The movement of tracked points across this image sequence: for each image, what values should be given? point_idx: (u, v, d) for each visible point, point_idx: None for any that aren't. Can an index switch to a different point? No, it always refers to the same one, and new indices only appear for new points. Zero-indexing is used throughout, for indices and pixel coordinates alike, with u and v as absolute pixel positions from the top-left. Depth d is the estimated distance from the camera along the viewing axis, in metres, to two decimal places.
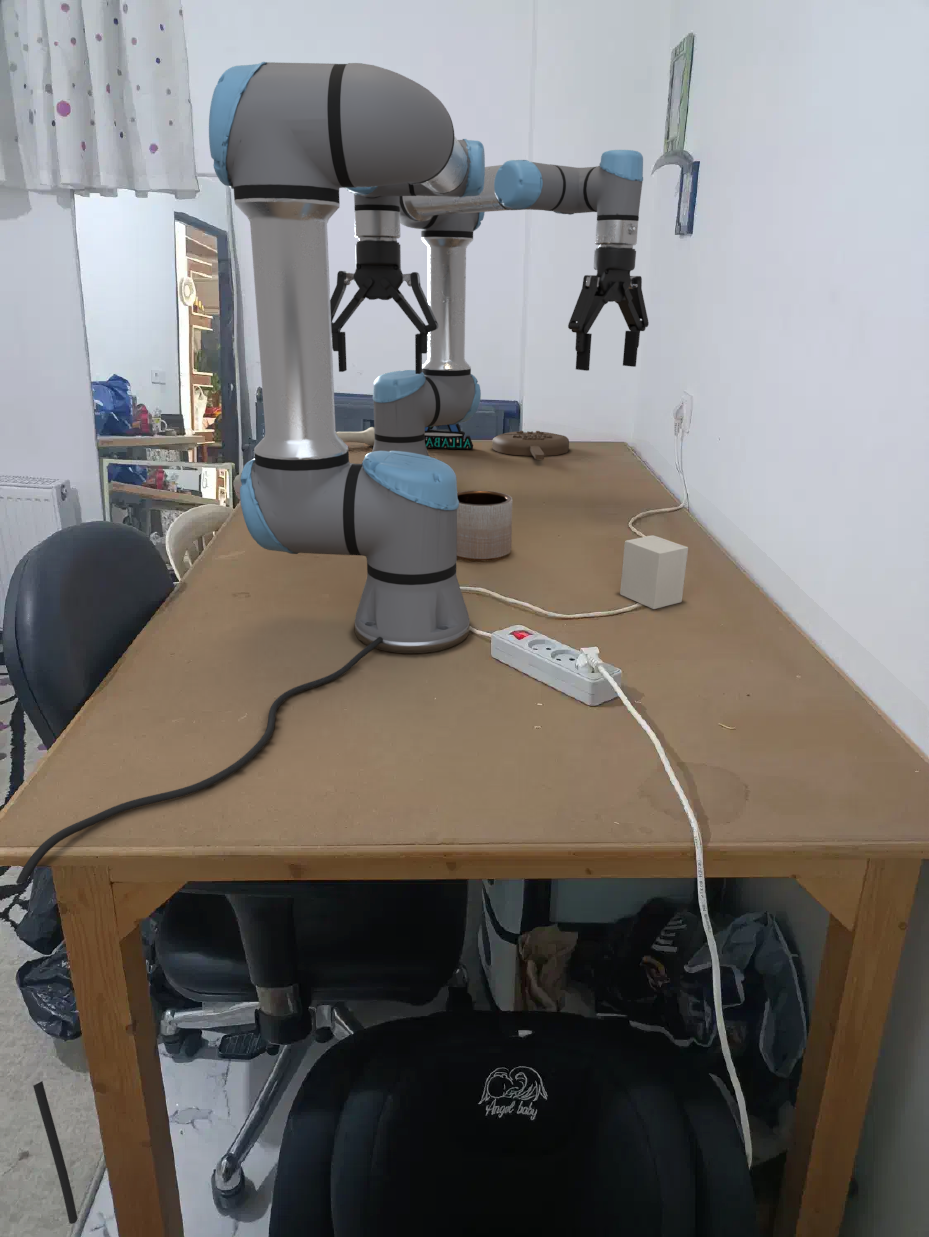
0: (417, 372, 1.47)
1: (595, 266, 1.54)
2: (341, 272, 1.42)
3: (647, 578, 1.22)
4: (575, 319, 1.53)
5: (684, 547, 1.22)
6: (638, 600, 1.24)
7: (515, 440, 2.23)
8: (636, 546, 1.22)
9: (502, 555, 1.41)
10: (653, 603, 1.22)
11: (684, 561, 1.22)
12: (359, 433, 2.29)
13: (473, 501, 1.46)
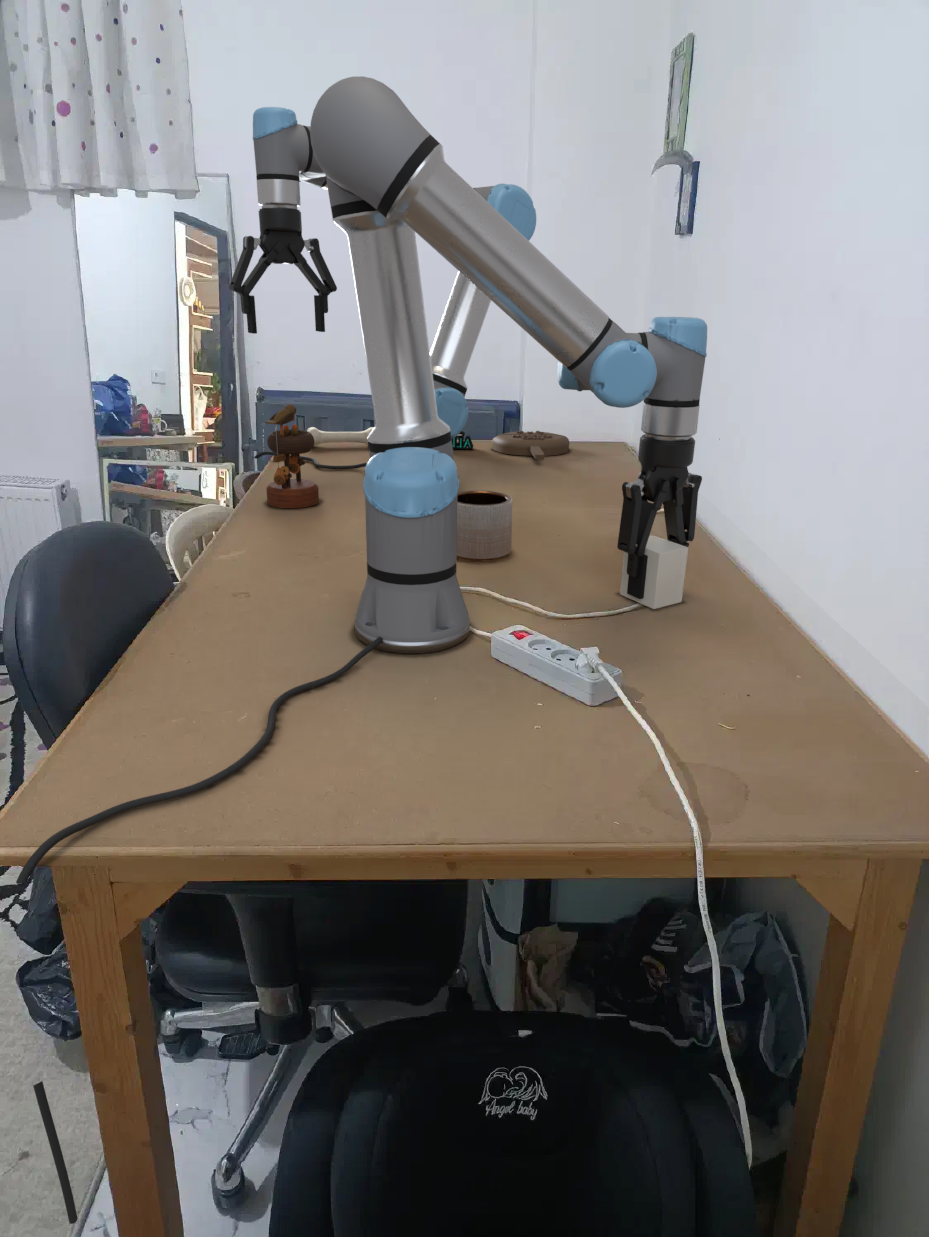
0: None
1: (301, 228, 1.54)
2: (637, 487, 1.15)
3: (647, 578, 1.22)
4: None
5: (684, 547, 1.22)
6: (638, 600, 1.24)
7: (515, 440, 2.23)
8: None
9: (502, 555, 1.41)
10: (653, 603, 1.22)
11: (684, 561, 1.22)
12: (359, 433, 2.29)
13: (473, 501, 1.46)
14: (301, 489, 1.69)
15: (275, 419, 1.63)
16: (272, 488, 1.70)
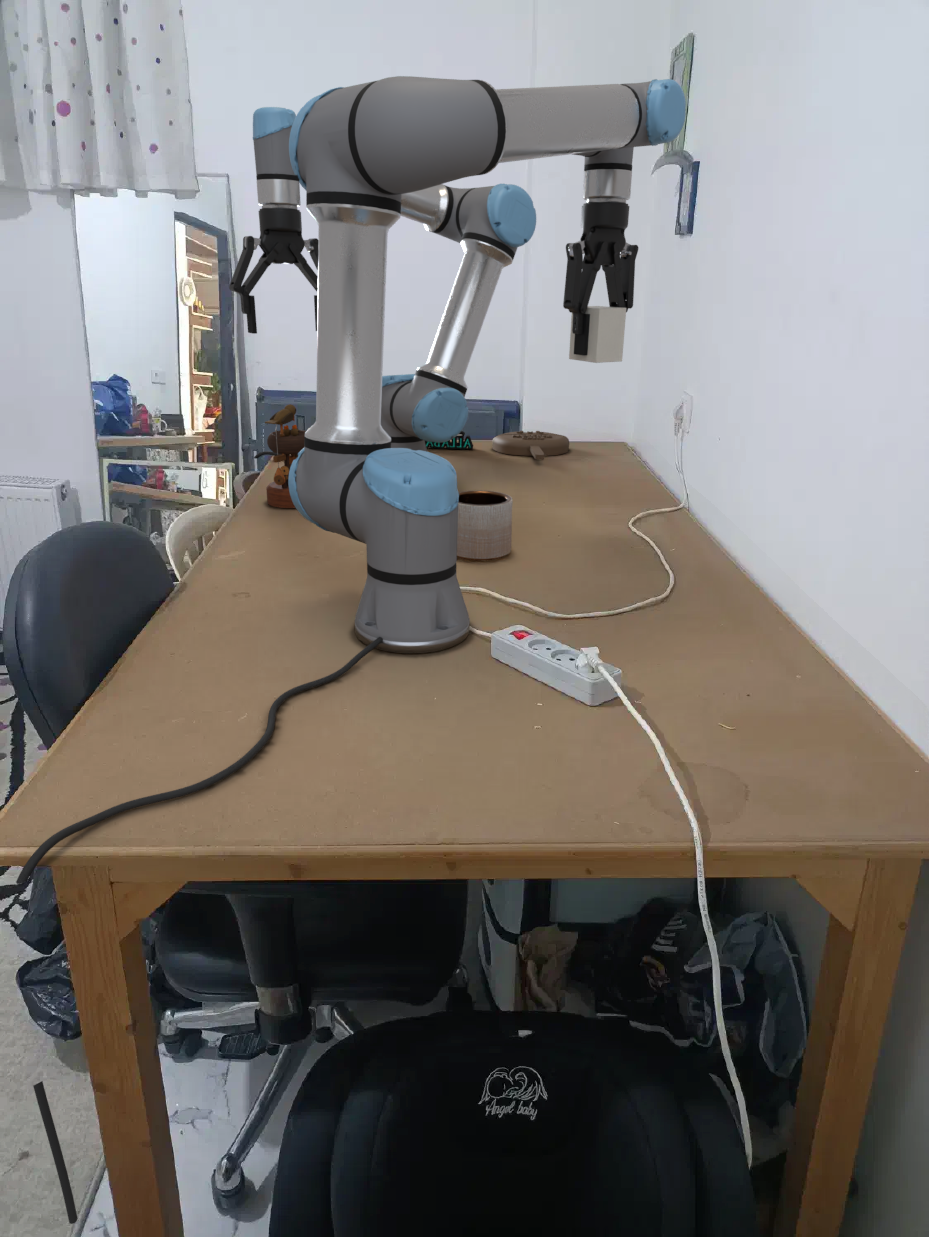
0: None
1: (301, 228, 1.54)
2: (578, 244, 1.33)
3: (590, 335, 1.39)
4: None
5: (622, 308, 1.39)
6: (583, 359, 1.42)
7: (515, 440, 2.23)
8: None
9: (502, 555, 1.41)
10: (595, 357, 1.39)
11: (623, 321, 1.39)
12: None
13: (473, 501, 1.46)
14: None
15: (275, 419, 1.63)
16: (272, 488, 1.70)
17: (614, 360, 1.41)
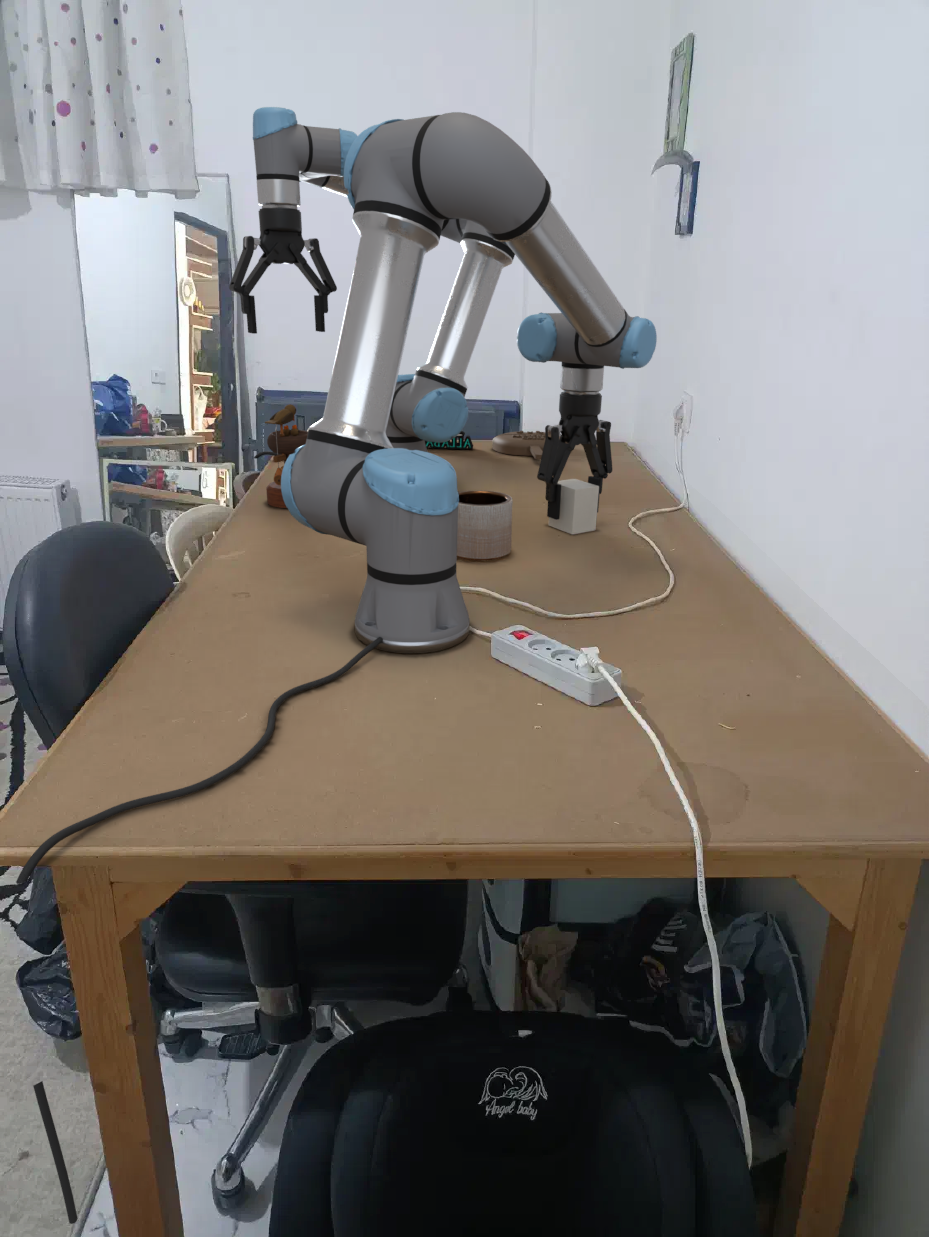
0: None
1: (301, 228, 1.54)
2: (556, 428, 1.49)
3: (567, 510, 1.56)
4: None
5: (596, 486, 1.56)
6: (561, 528, 1.58)
7: (515, 440, 2.23)
8: None
9: (502, 555, 1.41)
10: (571, 530, 1.56)
11: (596, 497, 1.56)
12: None
13: (473, 501, 1.46)
14: None
15: (275, 419, 1.63)
16: (272, 488, 1.70)
17: (588, 530, 1.58)
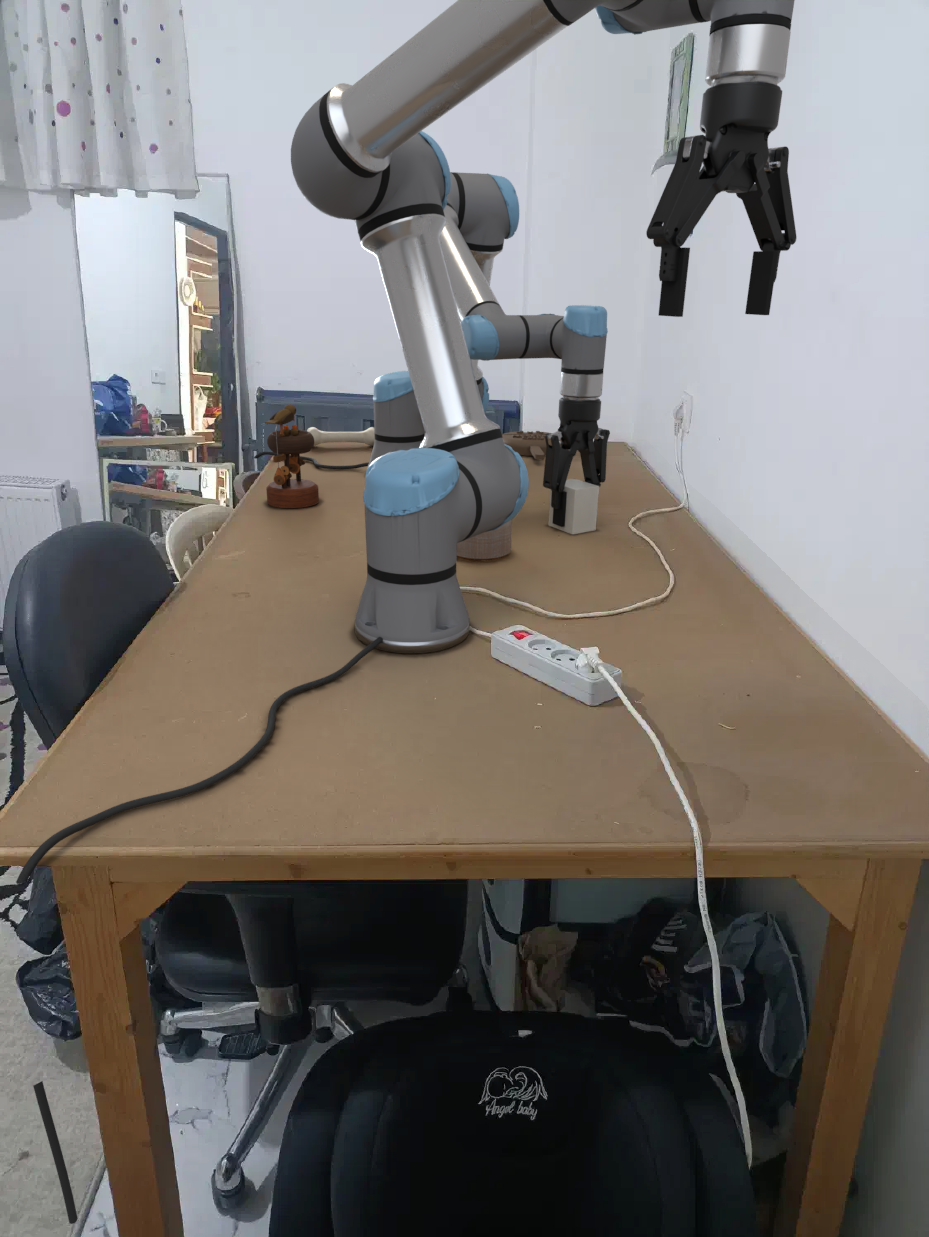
0: (767, 312, 0.93)
1: None
2: (703, 137, 0.81)
3: (567, 510, 1.56)
4: None
5: (596, 486, 1.56)
6: (561, 528, 1.58)
7: (515, 440, 2.23)
8: None
9: (502, 555, 1.41)
10: (571, 530, 1.56)
11: (596, 497, 1.56)
12: (359, 433, 2.29)
13: None
14: (301, 489, 1.69)
15: (275, 419, 1.63)
16: (272, 488, 1.70)
17: (588, 530, 1.58)
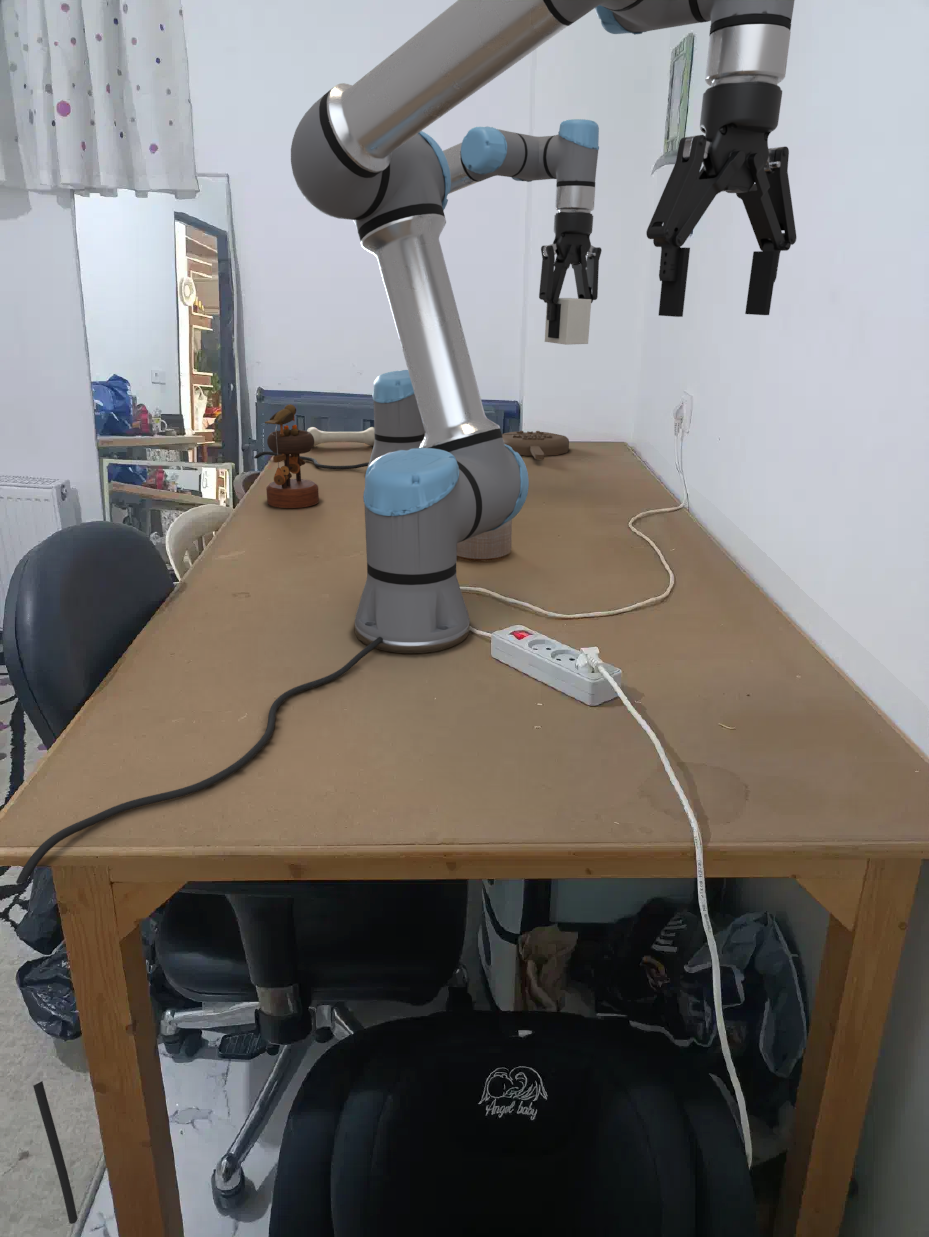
0: (767, 312, 0.93)
1: None
2: (703, 137, 0.81)
3: (561, 321, 1.69)
4: None
5: None
6: (556, 341, 1.71)
7: (515, 440, 2.23)
8: None
9: (502, 555, 1.41)
10: (565, 340, 1.69)
11: (588, 310, 1.69)
12: (359, 433, 2.29)
13: None
14: (301, 489, 1.69)
15: (275, 419, 1.63)
16: (272, 488, 1.70)
17: (581, 342, 1.71)
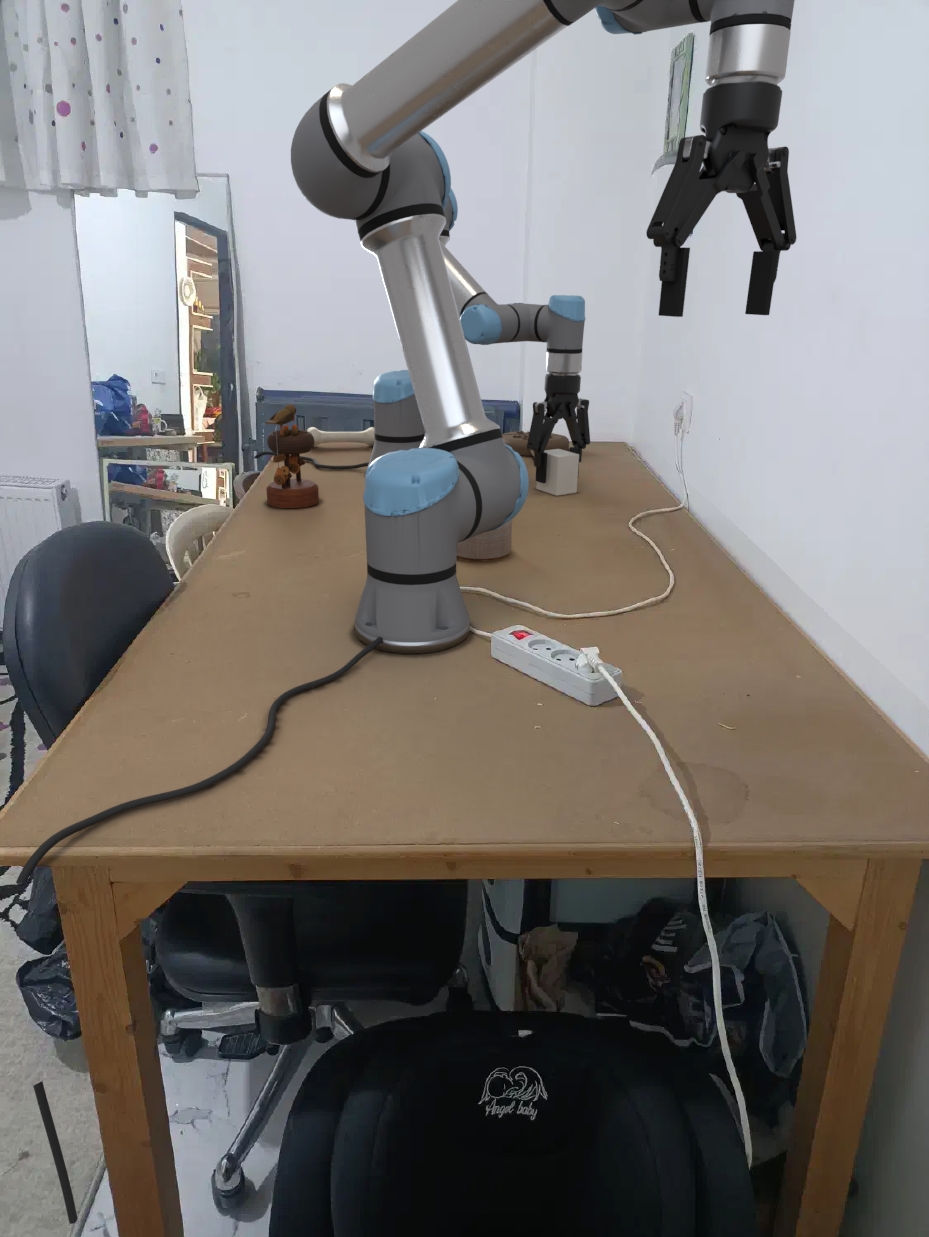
0: (767, 312, 0.93)
1: None
2: (703, 137, 0.81)
3: (552, 475, 1.83)
4: None
5: (576, 454, 1.83)
6: (547, 491, 1.86)
7: (515, 440, 2.23)
8: None
9: (502, 555, 1.41)
10: (555, 491, 1.83)
11: (576, 464, 1.84)
12: (359, 433, 2.29)
13: None
14: (301, 489, 1.69)
15: (275, 419, 1.63)
16: (272, 488, 1.70)
17: (570, 492, 1.85)
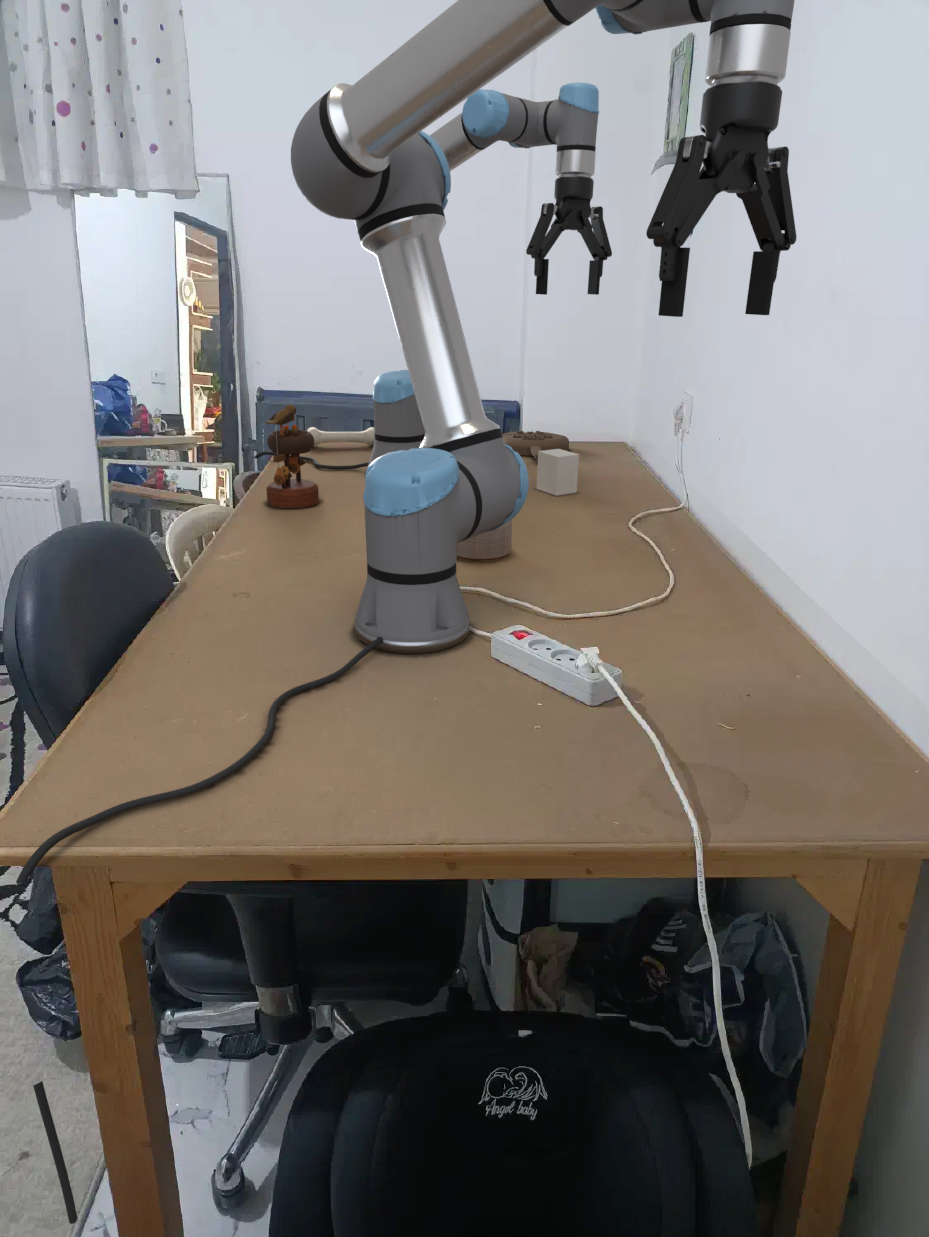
0: (767, 312, 0.93)
1: None
2: (703, 137, 0.81)
3: (552, 475, 1.83)
4: None
5: (576, 454, 1.83)
6: (547, 491, 1.86)
7: (515, 440, 2.23)
8: (544, 454, 1.84)
9: (502, 555, 1.41)
10: (555, 491, 1.83)
11: (576, 464, 1.84)
12: (359, 433, 2.29)
13: None
14: (301, 489, 1.69)
15: (275, 419, 1.63)
16: (272, 488, 1.70)
17: (570, 492, 1.85)
